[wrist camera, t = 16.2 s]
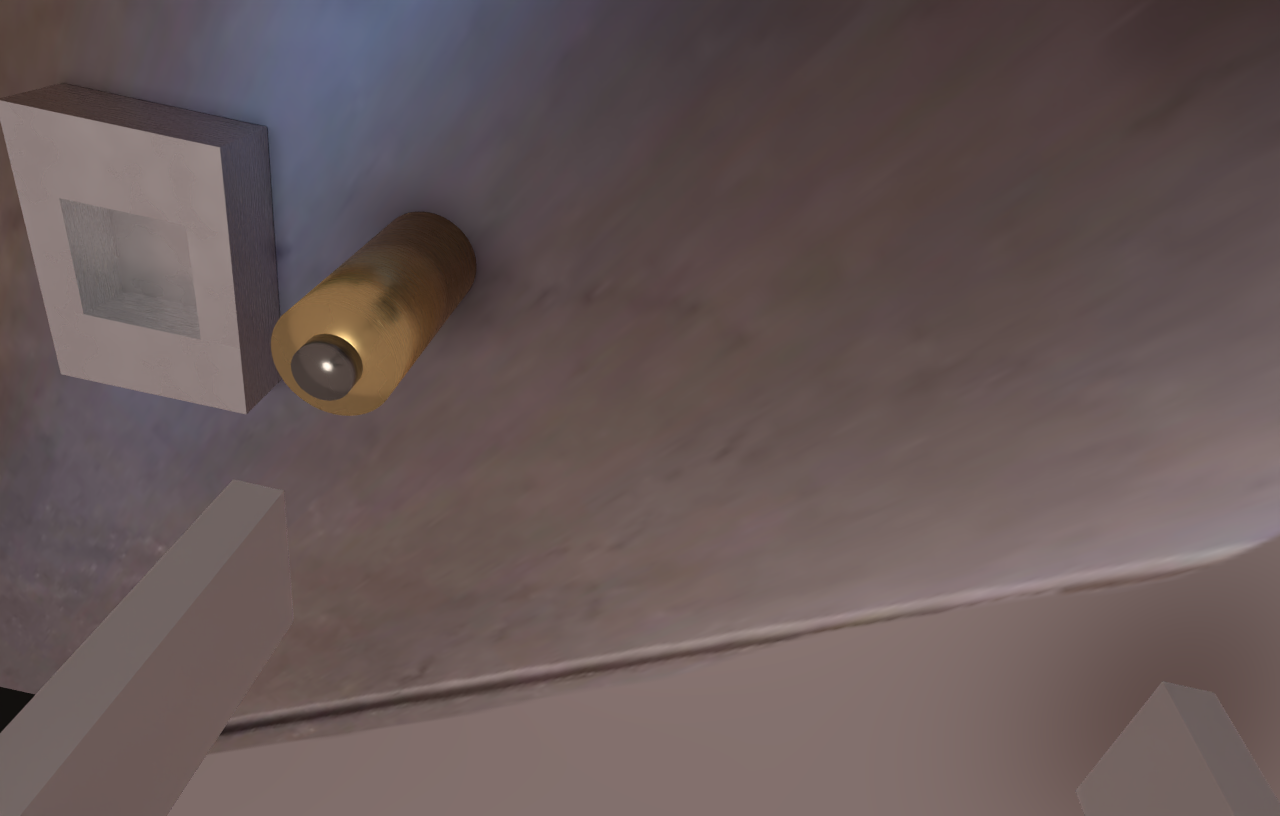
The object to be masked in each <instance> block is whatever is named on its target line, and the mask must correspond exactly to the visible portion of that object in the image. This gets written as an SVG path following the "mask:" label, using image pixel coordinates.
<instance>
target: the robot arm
mask: <svg viewBox="0 0 1280 816" xmlns="http://www.w3.org/2000/svg"><path fill="white" fill-rule="evenodd" d="M293 621H294V616H293V603H292V589H291V576H290V562H289V549H288V535H287V522H286V509H285V495H284V490H279V489H274V488H270V487H265V486H261V485H256V484H251V483H247V482H242V481H238V480H232V482H231V483H230V484H229V485H228V486H227V487H226V488H225V489H224V490H223V491H222V492H221V493H220V495H219V496H218V497H217V498H216V499H215V500H214V501H213V502H212V503H211V504H210V505H209V507H208V508H207V509H206V510H205V511H204V512H203V513H202V514H201V515H200V516H199V517H198V519H197V520H196V521H195V522H194V523H193V524H192V525H191V526H190V527H189V528H188V529H187V530H186V532H185V533H184V534H183V535H182V536H181V537H180V538H179V539H178V540H177V541H176V542H175V544H174V545H173V546H172V547H171V548H170V549H169V550H168V551H167V552H166V553H165V554H164V556H163V557H162V558H161V559H160V560H159V561H158V562H157V563H156V564H155V565H154V566H153V567H152V569H151V570H150V571H149V572H148V573H147V574H146V575H145V576H144V577H143V578H142V579H141V581H140V582H139V583H138V584H137V585H136V586H135V587H134V588H133V589H132V590H131V591H130V593H129V594H128V595H127V596H126V597H125V598H124V599H123V600H122V601H121V602H120V603H119V604H118V606H117V607H116V608H115V609H114V610H113V611H112V612H111V613H110V614H109V615H108V616H107V618H106V619H105V620H104V621H103V622H102V623H101V624H100V625H99V626H98V627H97V628H96V630H95V631H94V632H93V633H92V634H91V635H90V636H89V637H88V638H87V639H86V640H85V642H84V643H83V644H82V645H81V646H80V647H79V648H78V649H77V650H76V651H75V652H74V653H73V655H72V656H71V657H70V658H69V659H68V660H67V661H66V662H65V663H64V664H63V665H62V667H61V668H60V669H59V670H58V671H57V672H56V673H55V674H54V675H53V676H52V677H51V679H50V680H49V681H48V682H47V683H46V684H45V685H44V686H43V687H42V688H41V689H40V690H39V692H38V693H37V694H36V695H35V694H30V693H26V692H21V691H17V690H12V689H8V688H3V687H0V816H167V815H168V813H169V812H170V810H171V809H172V807H173V806H174V804H175V803H176V801H177V800H178V798H179V796H180V795H181V793H182V792H183V790H184V789H185V787H186V786H187V784H188V782H189V781H190V779H191V778H192V776H193V775H194V773H195V772H196V770H197V769H198V767H199V766H200V764H201V763H202V761H203V759H204V758H205V756H206V755H207V753H208V752H209V750H210V749H211V747H212V746H213V744H214V743H215V741H216V739H217V738H218V736H219V735H220V733H221V732H222V730H223V729H224V727H225V726H226V724H227V723H228V721H229V719H230V718H231V716H232V715H233V713H234V712H235V710H236V709H237V707H238V706H239V704H240V703H241V701H242V699H243V698H244V696H245V695H246V693H247V692H248V690H249V689H250V687H251V686H252V684H253V683H254V681H255V679H256V678H257V676H258V675H259V673H260V672H261V670H262V669H263V667H264V666H265V664H266V662H267V661H268V659H269V658H270V656H271V655H272V653H273V652H274V650H275V649H276V647H277V646H278V644H279V642H280V641H281V639H282V638H283V636H284V635H285V633H286V632H287V630H288V629H289V627H290V626H291V624H292V622H293ZM1076 794H1077V797H1078V800H1079V802H1080V805H1081V807H1082V810H1083V813H1084V816H1280V802H1279V801H1278V799H1277V797H1276V796H1275V794H1274V792H1273V791H1272V789H1271V787H1270V786H1269V784H1268V782H1267V780H1266V779H1265V777H1264V776H1263V774H1262V772H1261V770H1260V769H1259V767H1258V765H1257V764H1256V762H1255V760H1254V758H1253V757H1252V755H1251V753H1250V752H1249V750H1248V748H1247V747H1246V745H1245V743H1244V742H1243V740H1242V738H1241V737H1240V735H1239V733H1238V732H1237V730H1236V728H1235V727H1234V725H1233V723H1232V722H1231V720H1230V718H1229V717H1228V715H1227V713H1226V711H1225V710H1224V708H1223V706H1222V705H1221V703H1220V702H1219V700H1218V698H1217V696H1216V695H1215V693H1213V692H1209V691H1204V690H1200V689H1195V688H1191V687H1186V686H1182V685H1177V684H1172V683H1168V682H1163V681H1162V683H1161V684H1160V685H1159V687H1158V688H1157V689H1156V690H1155V692H1154V693H1153V694H1152V695H1151V697H1150V698H1149V699H1148V700H1147V702H1146V703H1145V704H1144V705H1143V707H1142V708H1141V709H1140V711H1139V712H1138V713H1137V714H1136V716H1135V717H1134V718H1133V719H1132V720H1131V722H1130V723H1129V724H1128V725H1127V727H1126V728H1125V729H1124V730H1123V732H1122V733H1121V734H1120V735H1119V737H1118V738H1117V739H1116V740H1115V742H1114V743H1113V744H1112V745H1111V747H1110V748H1109V750H1108V751H1107V752H1106V753H1105V754H1104V756H1103V757H1102V758H1101V759H1100V761H1099V762H1098V763H1097V764H1096V766H1095V767H1094V768H1093V769H1092V771H1091V772H1090V773H1089V775H1088V776H1087V777H1086V778H1085V779H1084V781H1083V782H1082V783H1081V785H1080V786H1079V787H1078V788H1077V789H1076Z"/></svg>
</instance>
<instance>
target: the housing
mask: <svg viewBox="0 0 1280 816" xmlns="http://www.w3.org/2000/svg"><path fill="white" fill-rule="evenodd" d="M0 121H1V125H2V129H3V133H4V137H5V142H6V146H7V150H8V154H9V158H10V162H11V167H12V171H13V175H14V179H15V183H16V187H17V192H18V196H19V200H20V204H21V208H22V213H23V217H24V221H25V225H26V229H27V233H28V238H29V242H30V246H31V250H32V254H33V258H34V263H35V267H36V271H37V275H38V279H39V284H40V288H41V292H42V296H43V300H44V304H45V309H46V313H47V317H48V321H49V325H50V329H51V334H52V338H53V342H54V346H55V350H56V355H57V359H58V363H59V367H60V371H61V374H63V375H68V376H72V377H77V378H81V379H86V380H91V381H95V382H100V383H104V384H109V385H114V386H118V387H123V388H128V389H132V390H137V391H141V392H146V393H151V394H155V395H160V396H164V397H169V398H174V399H178V400H183V401H188V402H192V403H197V404H201V405H206V406H211V407H215V408H220V409H225V410H229V411H234V412H238V413H243V414H247V413H248V412H249V411H250V410H251V409H252V408H253V407H254V406H255V405H256V404H257V403H258V402H259V401H260V400H261V399H262V398H263V397H264V396H266V395H267V394H268V393H269V392H270V391H271V390H272V389H273V388H274V387H275V386H276V385H277V384H278V383H279V382H280V381H281V380H282V377H281V376H280V374H279V372H278V370H277V368H276V366H275V364H274V361H273V357H272V352H271V337H272V332H273V329H274V327H275V325H276V323H277V321H278V320H279V319H280V313H279V298H278V283H277V269H276V254H275V239H274V225H273V210H272V195H271V181H270V166H269V151H268V137H267V127H265V126H260V125H255V124H251V123H246V122H241V121H237V120H232V119H227V118H223V117H218V116H213V115H209V114H204V113H199V112H195V111H190V110H185V109H181V108H176V107H171V106H167V105H162V104H157V103H153V102H148V101H143V100H139V99H134V98H129V97H125V96H120V95H115V94H111V93H106V92H101V91H97V90H92V89H87V88H83V87H78V86H73V85H69V84H64V83H61V84H56V85H52V86H48V87H44V88H40V89H36V90H32V91H28V92H23V93H19V94H15V95H11V96H7V97H3V98H0Z"/></svg>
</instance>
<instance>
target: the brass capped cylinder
mask: <svg viewBox="0 0 1280 816" xmlns="http://www.w3.org/2000/svg"><path fill="white" fill-rule="evenodd" d="M475 275H476V259H475V255H474V251H473V249H472V246H471V244H470V242H469V241H468V239H467V238H466V236H465V235H464V234H463V233H462V231H461V230H460V229H459V228H458V227H457V226H455V225H454V224H453V223H451V222H450V221H449V220H447V219H445V218H443V217H441V216H439V215H436V214H432V213H428V212H411V213H407V214H404V215H402V216H399V217H398V218H396V219H395V220H394V221H392V222H391V223H390V224H389V225H388V226H387V227H385V228H384V229H383V230H382V231H381V232H379V233H378V234H377V235H376V236H375V237H374V238H372V239H371V240H370V241H369V242H368V243H367V244H365V245H364V246H363V247H362V248H361V249H360V250H358V251H357V252H356V253H355V254H354V255H352V256H351V257H350V258H349V259H348V260H347V261H345V262H344V263H343V264H342V265H341V266H340V267H338V268H337V269H336V270H335V271H334V272H333V273H331V274H330V275H329V276H328V277H327V278H326V279H324V280H323V281H322V282H321V283H320V284H318V285H317V286H316V287H315V288H314V289H313V290H311V291H310V292H309V293H308V294H307V295H306V296H304V297H303V298H302V299H301V300H300V301H299V302H297V303H296V304H295V305H294V306H293V307H291V308H290V309H289V310H288V311H287V312H286V313H285V314H283V315H282V316H281V317H280V319H279V320H278V321H277V323H276V325H275V327H274V329H273V332H272V337H271V352H272V357H273V361H274V364H275V366H276V368H277V370H278V372H279V374H280V376H281V377H282V379H283V380H284V382H285V383H286V384H287V385H288V386H289V388H290V389H291V390H292V391H293V392H294V393H295V394H296V395H298V396H299V397H300V398H301V399H303V400H304V401H306V402H307V403H309V404H310V405H312V406H314V407H316V408H318V409H320V410H323V411H326V412H329V413H333V414H337V415H347V416H352V415H361V414H365V413H368V412H371V411H373V410H375V409H376V408H378V407H379V406H381V405H382V404H383V403H384V402H385V401H386V400H387V398H388V397H389V396H390V394H391V393H392V392H393V390H394V389H395V388H396V386H397V385H398V384H399V383H400V381H401V380H402V379H403V377H404V376H405V375H406V373H407V372H408V371H409V369H410V368H411V367H412V365H413V364H414V363H415V361H416V360H417V359H418V357H419V356H420V355H421V353H422V352H423V351H424V349H425V348H426V347H427V345H428V344H429V343H430V341H431V340H432V339H433V337H434V336H435V335H436V333H437V332H438V331H439V329H440V328H441V327H442V325H443V324H444V323H445V321H446V320H447V319H448V317H449V316H450V315H451V313H452V312H453V311H454V309H455V308H456V307H457V306H458V304H459V303H460V302H461V300H462V299H463V298H464V296H465V295H466V294H467V292H468V291H469V289H470V288H471V286H472V284H473V282H474V279H475Z"/></svg>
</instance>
